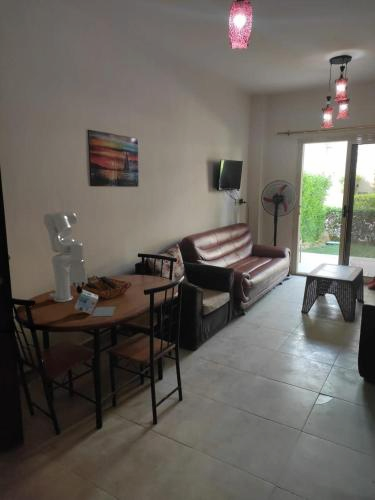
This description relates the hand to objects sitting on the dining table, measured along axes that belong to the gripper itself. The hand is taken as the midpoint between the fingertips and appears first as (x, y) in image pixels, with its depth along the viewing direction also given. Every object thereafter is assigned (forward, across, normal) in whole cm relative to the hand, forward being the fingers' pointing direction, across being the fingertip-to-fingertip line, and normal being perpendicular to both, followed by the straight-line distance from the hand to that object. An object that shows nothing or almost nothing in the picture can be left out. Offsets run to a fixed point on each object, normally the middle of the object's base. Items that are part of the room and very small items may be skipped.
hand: (79, 292), depth 215 cm
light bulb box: (+11, +1, 0) cm, 11 cm away
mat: (+13, +14, +2) cm, 19 cm away
